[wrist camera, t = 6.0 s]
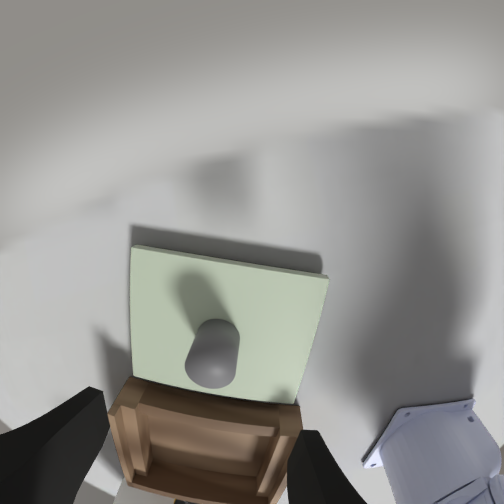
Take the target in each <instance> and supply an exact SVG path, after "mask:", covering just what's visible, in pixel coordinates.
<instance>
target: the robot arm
mask: <svg viewBox="0 0 504 504" xmlns="http://www.w3.org/2000/svg"><path fill="white" fill-rule="evenodd" d="M475 404H476V401H475V400H474V399H470V400H464V401H458V402H451V403H444V404H437V405H428V406H419V407H408V408H401V409H399V410H398V411H397V412H396V413H395V415H394V417H393V418H392V420H391V422H390V423H389V425H388V427H387V428H386V430H385V431H384V433H383V435H382V436H381V438H380V439H379V441H378V442H377V444H376V445H375V447H374V448H373V450H372V451H371V453H370V454H369V455H368V457H367V458H366V460H365V461H364V462H363V464H362V465H363V468H373V467H381V466H384V469H385V472H386V474H387V477H388V480H389V483H390V486H391V489H392V492H393V495H394V498H395V501H396V504H504V475H500V474H498V473H499V471H500V468H501V452H500V449H499V446H498V445H497V443H496V442H495V440H494V439H493V437H492V436H491V434H490V433H489V432H488V430H487V429H486V427H485V426H484V425H483V423H482V422H481V421H480V419H479V418H478V416H477V415H476V414H475V412H474V411H473V410H472V409H473V407H474V405H475ZM109 428H110V423H109V419H108V414H107V410H106V405H105V400H104V395H103V391H101V390H98V389H95V388H92V387H90V386H89V387H87V388H86V389H84V390H82V391H81V392H79V393H78V394H76V395H75V396H73V397H72V398H70V399H69V400H67V401H66V402H64V403H62V404H61V405H59V406H58V407H56V408H54V409H53V410H51V411H50V412H48V413H46V414H44V415H43V416H41V417H39V418H37V419H35V420H33V421H31V422H30V423H28V424H26V425H23V426H21V427H19V428H17V429H14V430H12V431H9V432H7V433H4V434H1V435H0V504H73V502H74V500H75V497H76V494H77V492H78V490H79V488H80V486H81V484H82V482H83V480H84V478H85V476H86V475H87V473H88V471H89V469H90V468H91V466H92V464H93V462H94V460H95V459H96V457H97V455H98V453H99V451H100V450H101V448H102V446H103V443H104V441H105V438H106V436H107V433H108V430H109ZM287 490H288V499H289V504H367V503H366V502H365V501H364V500H363V498H362V497H361V496H360V495H359V494H358V492H357V491H356V490H355V489H354V487H353V486H352V485H351V483H350V482H349V481H348V479H347V478H346V476H345V475H344V473H343V472H342V470H341V469H340V467H339V466H338V464H337V463H336V461H335V459H334V458H333V456H332V454H331V453H330V451H329V449H328V448H327V446H326V444H325V442H324V440H323V438H322V437H321V435H320V433H319V432H318V430H301V431H300V433H299V435H298V438H297V440H296V442H295V445H294V447H293V449H292V451H291V454H290V456H289V458H288V460H287Z"/></svg>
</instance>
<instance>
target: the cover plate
mask: <svg viewBox="0 0 504 504" xmlns="http://www.w3.org/2000/svg"><path fill="white" fill-rule="evenodd" d="M329 281H330V279H329V278H328V276H327V275H323V274H316V273H310V272H303V271H297V270H290V269H284V268H277V267H271V266H265V265H258V264H252V263H246V262H239V261H233V260H227V259H221V258H215V257H208V256H202V255H196V254H190V253H184V252H178V251H172V250H166V249H160V248H154V247H148V246H142V245H137V244H136V245H135V246H133V247H131V264H130V326H131V349H132V364H133V376H136V377H139V378H143V379H147V380H151V381H155V382H159V383H163V384H167V385H171V386H176V387H180V388H185V389H190V390H195V391H200V392H205V393H211V394H216V395H222V396H229V397H235V398H242V399H250V400H258V401H267V402H276V403H288V404H294V401H295V398H296V395H297V392H298V389H299V386H300V383H301V380H302V377H303V373H304V370H305V367H306V364H307V361H308V357H309V354H310V351H311V347H312V344H313V341H314V337H315V334H316V330H317V326H318V323H319V319H320V316H321V312H322V308H323V304H324V300H325V297H326V293H327V289H328V285H329Z"/></svg>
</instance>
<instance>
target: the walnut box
mask: <svg viewBox="0 0 504 504" xmlns="http://www.w3.org/2000/svg"><path fill="white" fill-rule="evenodd" d="M107 414H108V419H109V423H110V428H111V432H112V436H113V440H114V443H115V447H116V450H117V454H118V457H119V461H120V464H121V467H122V470H123V473H124V476H125V479H126V482H127V485H128V486H130V487H133V488H136V489H140V490H143V491H147V492H150V493H154V494H157V495H161V496H165V497H169V498H174V499H178V500H183V501H188V502H193V503H198V504H277V502H278V500H279V499H280V497H281V495H282V493H283V492H284V490H285V488H286V486H287V460H288V458H289V456H290V454H291V451H292V449H293V447H294V445H295V442H296V440H297V438H298V435H299V433H300V431H301V430H303V425H302V419H301V412H300V406H294V405H281V404H271V403H262V402H253V401H245V400H238V399H231V398H225V397H219V396H213V395H207V394H202V393H197V392H192V391H187V390H182V389H177V388H173V387H169V386H164V385H160V384H156V383H152V382H148V381H144V380H141V379H137V378H133V377H129V378H128V380H127V381H126V383H125V385H124V386H123V388H122V390H121V391H120V393H119V395H118V396H117V398H116V400H115V401H114V403H113V405H112V406H111V408H110V410H109V411H108V413H107Z"/></svg>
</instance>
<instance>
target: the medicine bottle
mask: <svg viewBox="0 0 504 504" xmlns="http://www.w3.org/2000/svg"><path fill="white" fill-rule="evenodd" d="M113 504H198V503H193V502H188V501H183V500H178V499H174V498H169V497H165V496H161V495H157V494H154V493H150V492H147V491H143V490H140V489H136V488H133V487H130V486H128V485H127V482H126V479H125V477H124V478H123V480H122V483H121V485H120V488H119V490H118V493H117V495H116V498H115V500H114V503H113Z"/></svg>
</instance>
